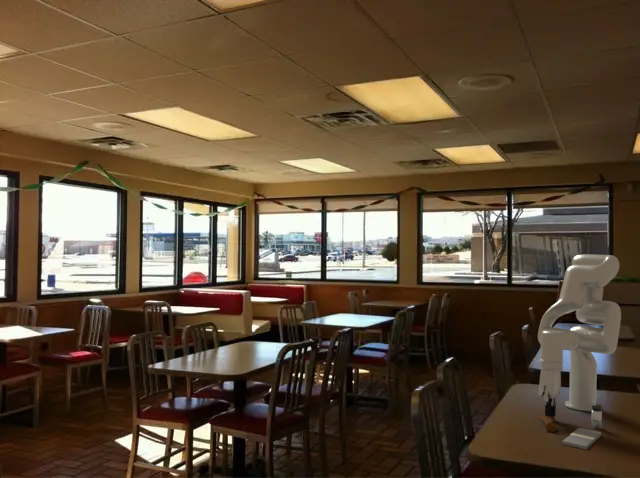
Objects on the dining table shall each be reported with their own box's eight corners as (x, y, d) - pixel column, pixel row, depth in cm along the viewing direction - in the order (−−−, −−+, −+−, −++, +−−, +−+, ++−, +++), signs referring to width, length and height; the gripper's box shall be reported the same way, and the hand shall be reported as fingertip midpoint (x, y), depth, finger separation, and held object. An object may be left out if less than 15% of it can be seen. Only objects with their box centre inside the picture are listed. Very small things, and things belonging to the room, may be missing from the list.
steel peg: (592, 425, 200) (593, 402, 200) (602, 427, 198) (603, 404, 198) (590, 427, 198) (590, 404, 198) (600, 429, 196) (600, 406, 196)
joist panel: (579, 430, 194) (579, 427, 194) (601, 435, 190) (601, 432, 190) (562, 444, 180) (562, 440, 180) (586, 449, 176) (586, 445, 176)
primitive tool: (537, 416, 211) (537, 407, 211) (553, 417, 210) (553, 408, 210) (545, 432, 193) (545, 422, 193) (563, 434, 191) (563, 423, 191)
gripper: (547, 360, 215) (546, 409, 214) (533, 366, 203) (532, 418, 203) (568, 363, 210) (567, 414, 210) (555, 369, 199) (554, 422, 198)
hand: (550, 416), depth 206 cm, fingers closed
